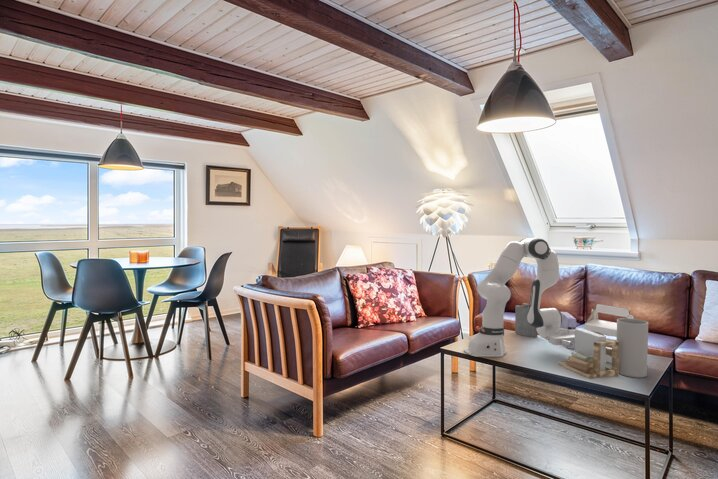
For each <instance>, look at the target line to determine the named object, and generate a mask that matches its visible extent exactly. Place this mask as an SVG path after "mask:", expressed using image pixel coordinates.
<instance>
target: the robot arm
mask: <svg viewBox="0 0 718 479" xmlns="http://www.w3.org/2000/svg"><path fill="white" fill-rule="evenodd" d="M525 257H526V258H531V259H535V261H536V264H537V267H536V268H537V273H536V274H537V275H536V277H535V280H533V281H532V284H531V290H530V295H529V296H530V297H529V298H530V299H529V303H528V304H529V305H528V307H529V310H528V314H527V321H528V323H529V324H530V325H531V326H532V327H534V328H537V335H539V336H540V338H543V339H545V340H546V341H547V342H548V343H549V344H552V345H554V346H564V345H571V344H575V330H571V329H564V328H561V325H562V315H561V313H560V312H561V311H560V310H559V309H557V307H548V308H540V307H541V300H542V294H543V293H544V291H545V290H547V289H549V288H551V287H552V286H554V285H556V284H557V282H558V281H559V279H560V267H559V266H560V265H559V258H558V254H557V253H556V252H555V250H553V249H551V248H550V246H549V243H548V242H547V241H546V240H545V239H543V238H541V237H527V238H523V239H521V240H520V241H513V240H512V241H510V242H509V243H507V245H506V246H504V249H503V250H502V252H501V253H500V255H499V257H498V259H497V260H496V263H495V265H494V267H492V269H491V271H490V272H488V274H487V276H486V277H485V278H484V279H482V280H481V281H480V282H479V283H478V284H477V285H476V286H477V287H476V290H477V291H476V292H477V293H478V295H479V296H480V297H481V298H483V299H485V300H486V304H485V307H484V309H483V311H482V325H481V326H479V325H476V327H475V329H476V330H477V331H479V332H478V333H477V334H475V335H474V336H473V337H472V338H470V339H469V341H468V344H467V347H465V348H463V351H464V353H465V354H467V355H470V356H473V357H477V358H481V357H483V358H486V357H488V358H489V357H490V358H491V357H493V358H496V357H498V358H499V357H504V355H506V354H507V350H506V347H505V340H504V338H505V337H504V336H505V327H504V319H505V318H504V317H505V316H504V314H505V308H506V306H507V303H508V301H510V299H511V297H512V292H511V290H510V288H509V287H508V286H507V285H505V284H506V283H507V282H508V281H509V280H510V279H512V278H513V277H514V276H515V274H516V271H517V270H518V268H519V266H520V263H521V261H522V260H523V259H524V258H525Z"/></svg>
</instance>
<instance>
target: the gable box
mask: <svg viewBox="0 0 718 479" xmlns="http://www.w3.org/2000/svg"><path fill="white" fill-rule="evenodd" d="M599 314H606V315H611V316H617V317H622V318H629V319H635V315H633V314H631V310H629V309H628V307H619V306H614V305H608V304H601V303H598V304H596V306H595V308H591V313H590V315H589V316H588V318H587V319H586V321H585V322H584V329H585V330H588V331H591V332H594V333H597V334H600V335H603V336H606V337H615V338H617V322H613V321H608V320H602V319H599ZM605 363H610V364H612V348H608V347H606V361H605Z"/></svg>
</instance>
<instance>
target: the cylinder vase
mask: <svg viewBox="0 0 718 479" xmlns="http://www.w3.org/2000/svg"><path fill="white" fill-rule="evenodd" d="M616 323H617V337H616V341H619V371H618V375H621V376H625V377H628V378H636V379H639V378H640V379H641V378H642V379H643V378H646V377H647V375H648V351H649V346H648V345H649V343H648V342H649V321H646V320H642V319H639V318H638V319H637V318H634V319H629V318H627V317H622V318H621V317H620V318H617V319H616Z"/></svg>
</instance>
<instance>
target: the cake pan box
mask: <svg viewBox="0 0 718 479" xmlns="http://www.w3.org/2000/svg"><path fill="white" fill-rule="evenodd" d="M559 312H560V313H561V315H562V325H561V328H564V329H571V330H575V329H577V318H575V317H574V316H573V315H572V314H570V313H569V312H568V311H559ZM563 346H564V347H565V348H566V349H571V350H575V344H571V345H563Z"/></svg>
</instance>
